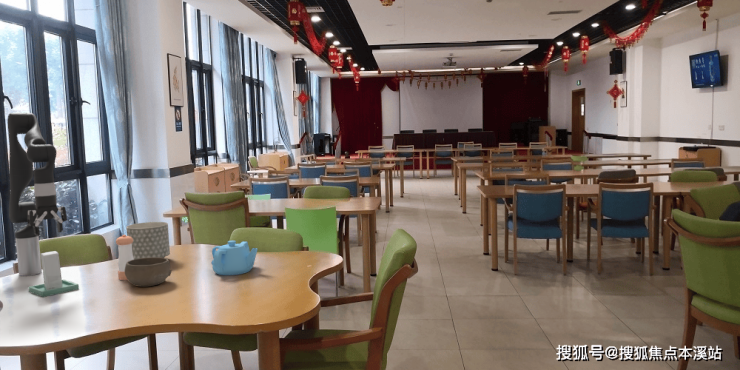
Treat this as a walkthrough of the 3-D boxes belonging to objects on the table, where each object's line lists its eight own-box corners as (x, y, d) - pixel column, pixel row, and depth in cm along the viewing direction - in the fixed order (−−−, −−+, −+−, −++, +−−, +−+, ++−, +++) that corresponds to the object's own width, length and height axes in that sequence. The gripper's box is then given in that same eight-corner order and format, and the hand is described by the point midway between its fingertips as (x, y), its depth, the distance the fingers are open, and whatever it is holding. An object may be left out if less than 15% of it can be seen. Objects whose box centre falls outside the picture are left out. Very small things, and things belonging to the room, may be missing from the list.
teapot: (214, 278, 260) (212, 246, 259) (209, 269, 278) (207, 239, 277) (259, 273, 267) (257, 242, 265) (251, 264, 285) (250, 235, 283)
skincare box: (63, 289, 248) (59, 253, 247) (46, 291, 245) (43, 255, 243) (59, 285, 255) (56, 250, 253) (43, 287, 251) (40, 252, 250)
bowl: (179, 279, 260) (177, 256, 259) (151, 291, 243) (150, 266, 242) (146, 277, 266) (144, 255, 265) (116, 288, 249) (114, 264, 248)
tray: (29, 291, 249) (28, 286, 249) (64, 283, 260) (63, 279, 260) (42, 297, 240) (42, 292, 240) (78, 288, 251) (78, 284, 250)
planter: (155, 255, 311) (152, 220, 309) (178, 259, 300) (175, 223, 298) (121, 263, 296) (118, 226, 294) (144, 267, 285) (141, 229, 283)
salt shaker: (140, 276, 268) (136, 233, 266) (127, 280, 262) (123, 236, 260) (127, 275, 271) (124, 232, 269) (114, 279, 265) (111, 235, 263)
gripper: (59, 191, 254) (63, 230, 255) (22, 195, 243) (26, 235, 245) (67, 192, 249) (70, 232, 250) (30, 196, 238) (33, 237, 240)
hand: (48, 233), depth 248 cm, fingers open, 8 cm apart
